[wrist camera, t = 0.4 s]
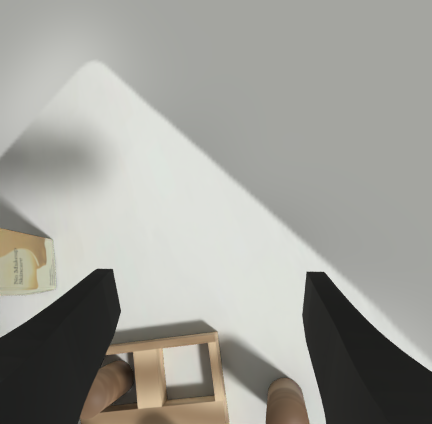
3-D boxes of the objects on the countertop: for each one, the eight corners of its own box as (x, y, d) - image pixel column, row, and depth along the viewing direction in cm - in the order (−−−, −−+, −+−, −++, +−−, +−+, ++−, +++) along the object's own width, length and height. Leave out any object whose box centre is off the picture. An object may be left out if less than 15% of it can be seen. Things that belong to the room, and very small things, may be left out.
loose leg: (306, 413, 35) (313, 445, 29) (270, 416, 36) (269, 448, 29) (299, 375, 36) (305, 398, 29) (264, 379, 36) (262, 402, 30)
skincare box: (58, 289, 42) (-28, 292, 30) (24, 296, 42) (-73, 301, 31) (53, 236, 43) (-30, 219, 31) (21, 243, 44) (-73, 229, 32)
